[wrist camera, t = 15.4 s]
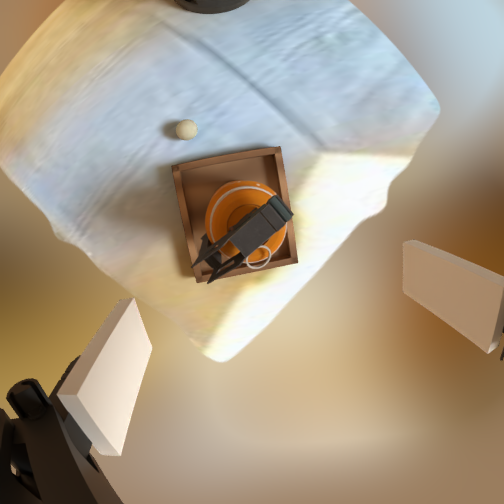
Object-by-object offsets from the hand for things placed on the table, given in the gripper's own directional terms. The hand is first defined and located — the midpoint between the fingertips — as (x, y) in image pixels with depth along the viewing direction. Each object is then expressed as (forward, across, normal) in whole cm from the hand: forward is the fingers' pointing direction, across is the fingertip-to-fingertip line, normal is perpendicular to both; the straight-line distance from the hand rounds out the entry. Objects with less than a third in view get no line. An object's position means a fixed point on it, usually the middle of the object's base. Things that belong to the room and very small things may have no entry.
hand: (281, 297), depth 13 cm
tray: (+33, 0, 0) cm, 33 cm away
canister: (+32, 0, 0) cm, 32 cm away
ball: (+33, -5, +14) cm, 36 cm away
